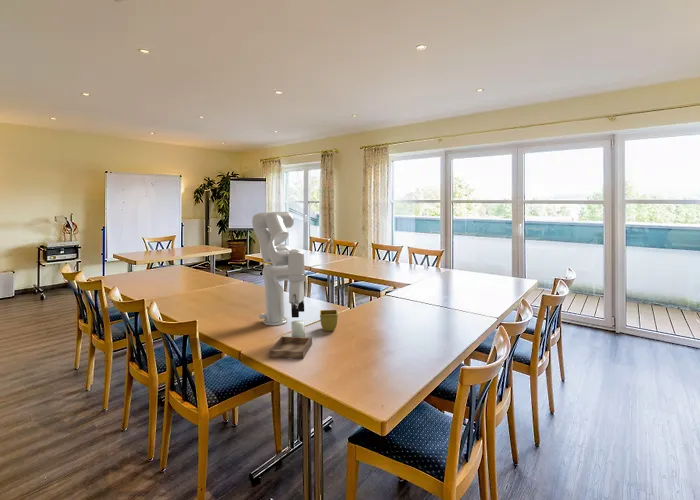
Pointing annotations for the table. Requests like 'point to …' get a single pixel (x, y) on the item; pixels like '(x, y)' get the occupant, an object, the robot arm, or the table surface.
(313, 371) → the table surface
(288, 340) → the tray
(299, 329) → the white upright rounded piece
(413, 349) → the table surface
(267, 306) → the robot arm
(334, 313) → the flower pot
